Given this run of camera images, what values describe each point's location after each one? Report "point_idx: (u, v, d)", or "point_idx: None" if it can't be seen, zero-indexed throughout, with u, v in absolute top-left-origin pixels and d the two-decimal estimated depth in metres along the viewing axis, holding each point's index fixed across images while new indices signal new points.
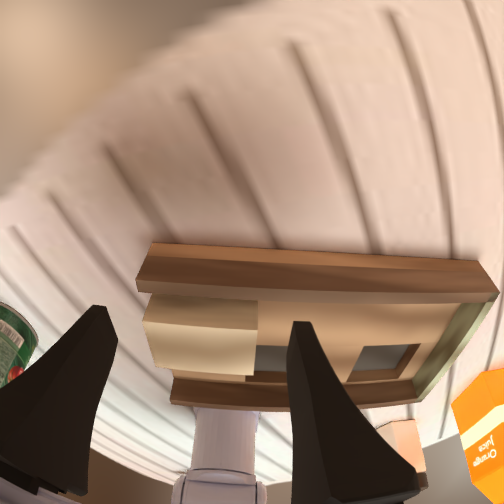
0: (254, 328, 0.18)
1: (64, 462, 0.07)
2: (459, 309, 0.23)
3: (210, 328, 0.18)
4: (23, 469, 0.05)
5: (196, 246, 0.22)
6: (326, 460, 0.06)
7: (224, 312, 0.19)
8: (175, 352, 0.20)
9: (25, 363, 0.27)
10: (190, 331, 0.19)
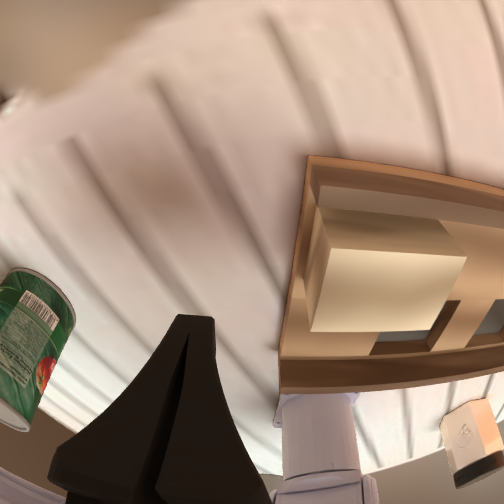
0: (463, 254, 0.13)
1: None
2: None
3: (421, 255, 0.12)
4: None
5: (366, 162, 0.16)
6: (168, 454, 0.06)
7: (424, 238, 0.14)
8: (355, 302, 0.14)
9: (59, 353, 0.21)
10: (394, 262, 0.13)
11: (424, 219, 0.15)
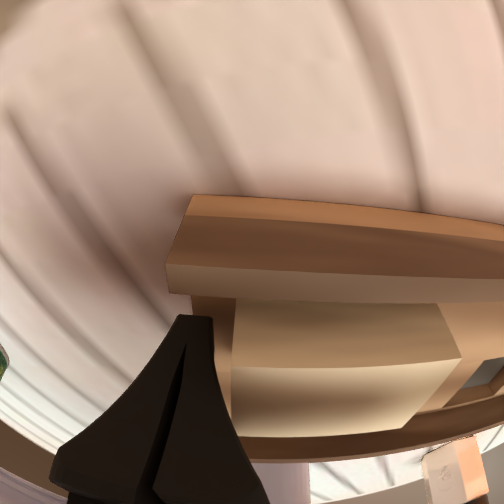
0: (456, 354, 0.08)
1: None
2: None
3: (386, 367, 0.08)
4: None
5: (283, 201, 0.11)
6: (166, 453, 0.06)
7: (398, 330, 0.09)
8: (285, 415, 0.09)
9: None
10: (340, 377, 0.08)
11: None
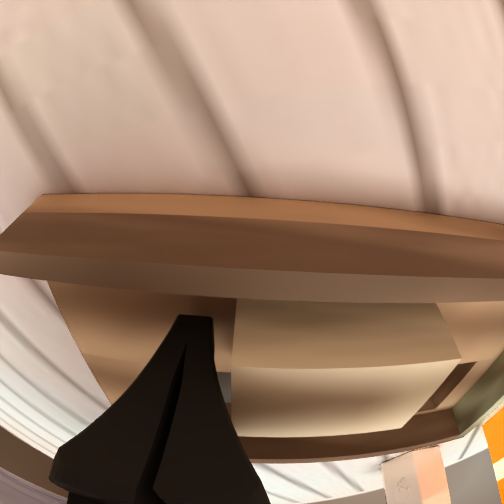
0: (455, 355, 0.08)
1: None
2: None
3: (386, 367, 0.08)
4: None
5: (102, 195, 0.11)
6: (166, 453, 0.06)
7: (398, 330, 0.09)
8: (285, 415, 0.09)
9: None
10: (340, 378, 0.08)
11: None
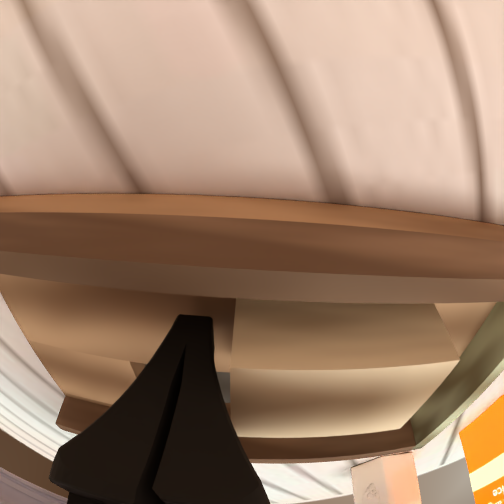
0: (454, 356, 0.08)
1: None
2: (492, 313, 0.12)
3: (384, 368, 0.08)
4: None
5: (26, 197, 0.11)
6: (166, 453, 0.06)
7: (396, 332, 0.09)
8: (284, 416, 0.10)
9: None
10: (338, 379, 0.08)
11: None
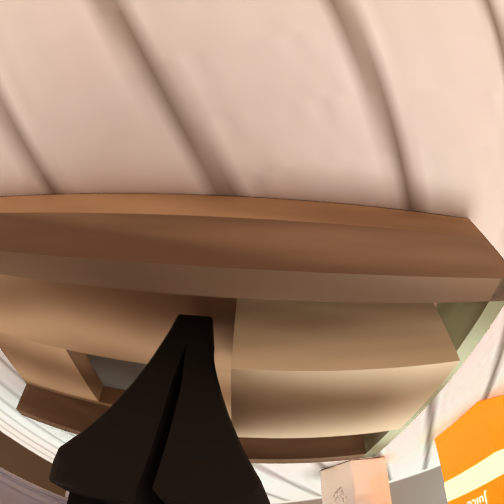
0: (454, 357, 0.08)
1: None
2: None
3: (385, 370, 0.08)
4: None
5: None
6: (166, 453, 0.06)
7: (396, 333, 0.09)
8: (285, 417, 0.10)
9: None
10: (339, 380, 0.08)
11: None
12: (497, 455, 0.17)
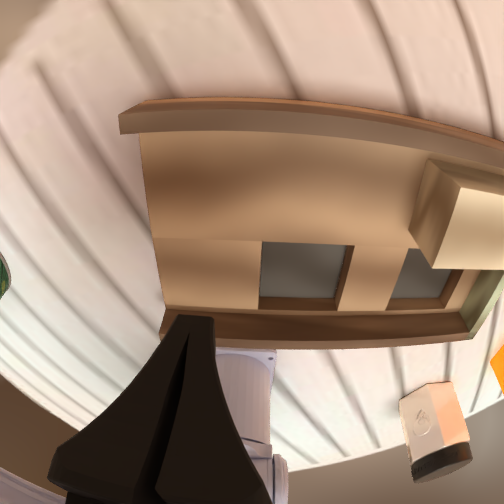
0: None
1: None
2: None
3: None
4: None
5: (198, 98, 0.16)
6: (168, 453, 0.06)
7: None
8: (468, 239, 0.14)
9: None
10: (496, 203, 0.13)
11: (500, 177, 0.16)
12: None
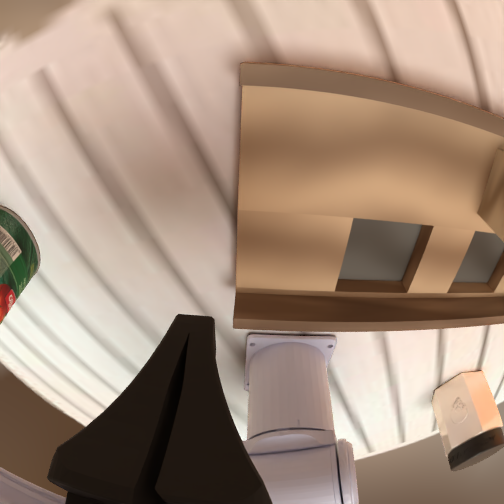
0: None
1: None
2: None
3: None
4: None
5: (303, 66, 0.15)
6: (168, 454, 0.06)
7: None
8: None
9: (19, 286, 0.20)
10: None
11: None
12: None
